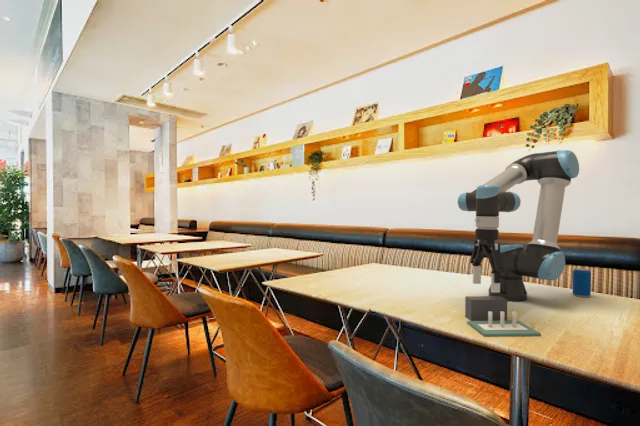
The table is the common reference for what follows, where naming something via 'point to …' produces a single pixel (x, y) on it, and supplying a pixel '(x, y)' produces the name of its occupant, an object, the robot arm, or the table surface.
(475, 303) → the block
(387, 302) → the table surface
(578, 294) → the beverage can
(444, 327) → the table surface
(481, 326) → the green peg board
